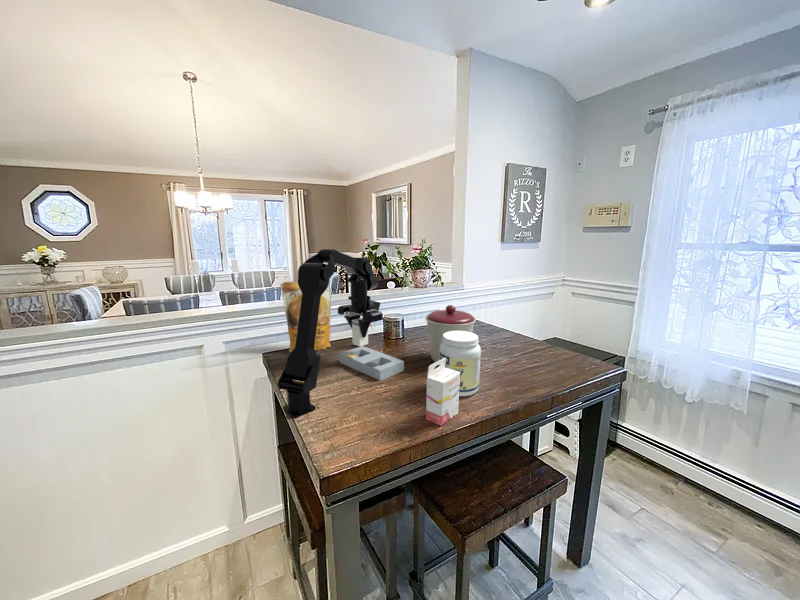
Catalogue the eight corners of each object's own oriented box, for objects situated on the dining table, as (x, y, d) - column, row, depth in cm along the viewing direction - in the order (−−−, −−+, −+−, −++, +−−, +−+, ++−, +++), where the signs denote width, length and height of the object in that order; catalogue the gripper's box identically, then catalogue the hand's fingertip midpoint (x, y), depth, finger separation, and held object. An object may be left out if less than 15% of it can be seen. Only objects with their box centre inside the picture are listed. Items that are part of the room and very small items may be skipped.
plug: (368, 343, 120) (367, 319, 118) (359, 346, 117) (359, 322, 115) (361, 341, 123) (360, 317, 121) (352, 343, 120) (351, 319, 118)
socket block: (403, 370, 114) (404, 360, 113) (380, 380, 106) (380, 369, 106) (362, 354, 129) (362, 345, 128) (339, 362, 121) (339, 352, 121)
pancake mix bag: (285, 349, 135) (280, 281, 129) (332, 343, 141) (329, 278, 136) (285, 354, 129) (280, 283, 123) (334, 348, 135) (331, 281, 130)
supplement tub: (431, 391, 100) (432, 337, 96) (448, 376, 110) (450, 327, 106) (469, 402, 93) (472, 345, 90) (484, 385, 103) (487, 333, 99)
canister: (419, 367, 117) (420, 309, 113) (430, 350, 134) (431, 299, 129) (471, 373, 112) (474, 313, 107) (475, 354, 129) (478, 301, 124)
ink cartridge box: (442, 427, 81) (443, 371, 78) (425, 420, 84) (426, 366, 81) (459, 412, 88) (461, 360, 85) (443, 406, 91) (444, 356, 88)
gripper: (394, 293, 116) (394, 336, 119) (359, 287, 128) (360, 326, 131) (369, 298, 108) (370, 344, 111) (336, 291, 120) (337, 332, 123)
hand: (360, 336), depth 119 cm, fingers closed on plug, 4 cm apart
